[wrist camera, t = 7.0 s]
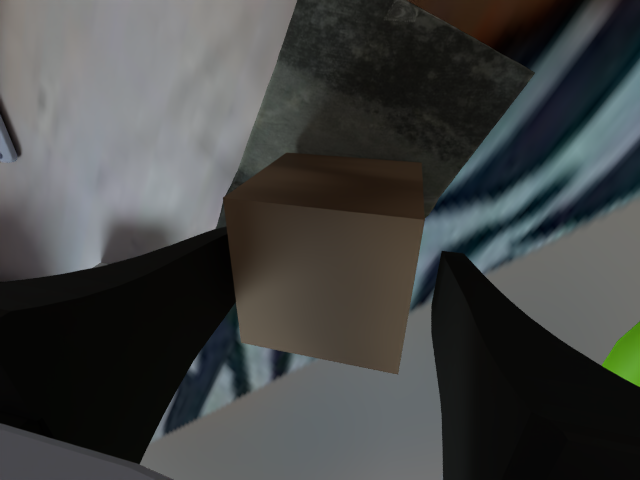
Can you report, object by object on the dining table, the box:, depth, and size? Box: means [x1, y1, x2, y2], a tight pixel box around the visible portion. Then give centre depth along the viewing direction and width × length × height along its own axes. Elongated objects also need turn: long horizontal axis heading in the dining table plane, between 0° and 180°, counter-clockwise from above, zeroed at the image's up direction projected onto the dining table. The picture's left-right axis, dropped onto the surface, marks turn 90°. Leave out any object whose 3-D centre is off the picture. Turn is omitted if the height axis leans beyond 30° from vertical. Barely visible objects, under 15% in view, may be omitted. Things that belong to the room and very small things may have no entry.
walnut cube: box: [223, 152, 425, 374], centre depth 12 cm, size 5×5×5 cm
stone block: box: [216, 0, 535, 229], centre depth 16 cm, size 9×14×5 cm, turn 154°
